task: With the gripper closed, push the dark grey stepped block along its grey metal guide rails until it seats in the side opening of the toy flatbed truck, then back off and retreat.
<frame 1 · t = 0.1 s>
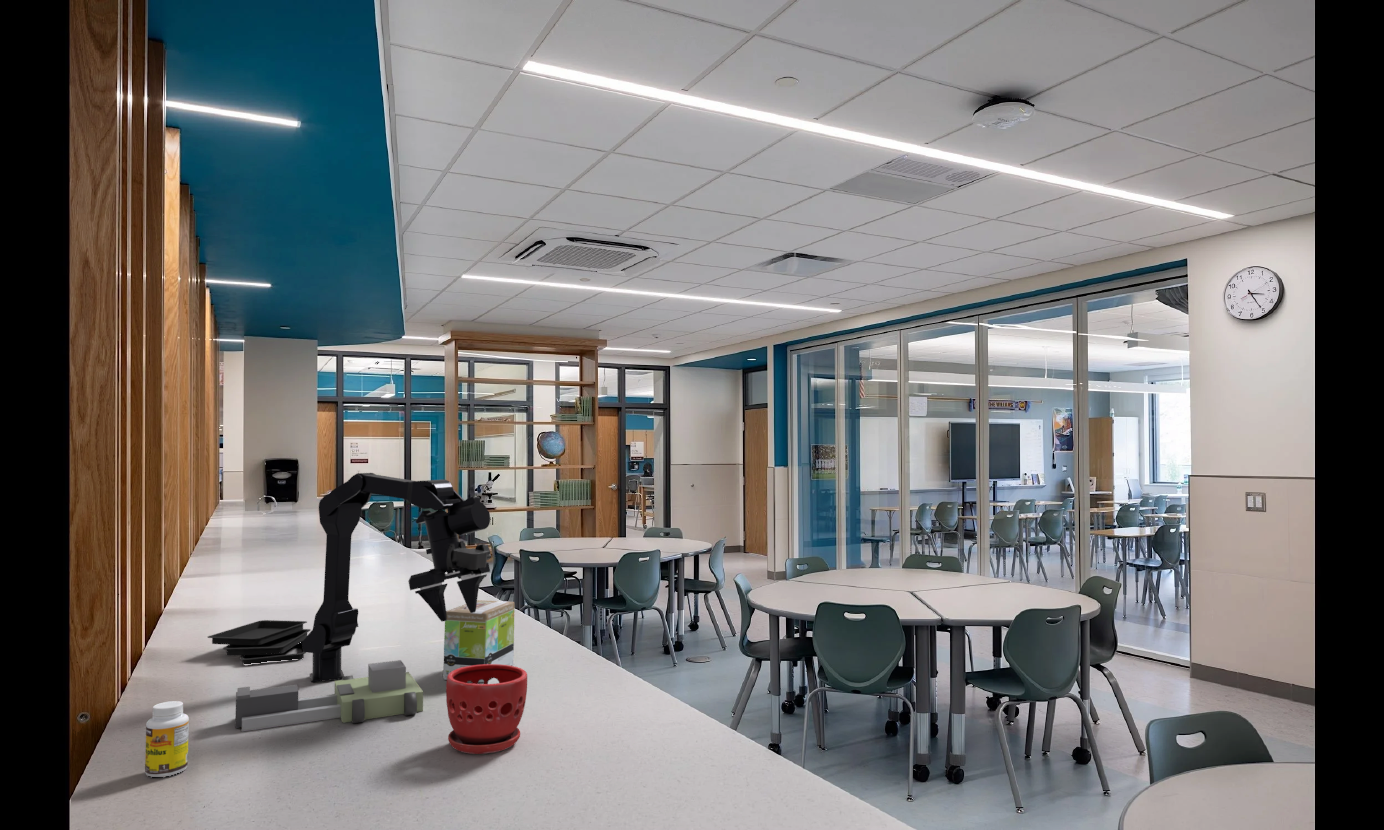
hand: (459, 616, 168), 15 cm above the countertop, tool pointing down, fingers open, 9 cm apart
tea box: (479, 673, 184), on the countertop
supplement bottle: (166, 773, 128), on the countertop
tray: (262, 653, 204), on the countertop
plant pot: (487, 746, 139), on the countertop
dark grey stepped block: (267, 703, 152), point 3 cm above the countertop, slide at 7.0 cm
toy flatbed truck: (377, 704, 161), on the countertop
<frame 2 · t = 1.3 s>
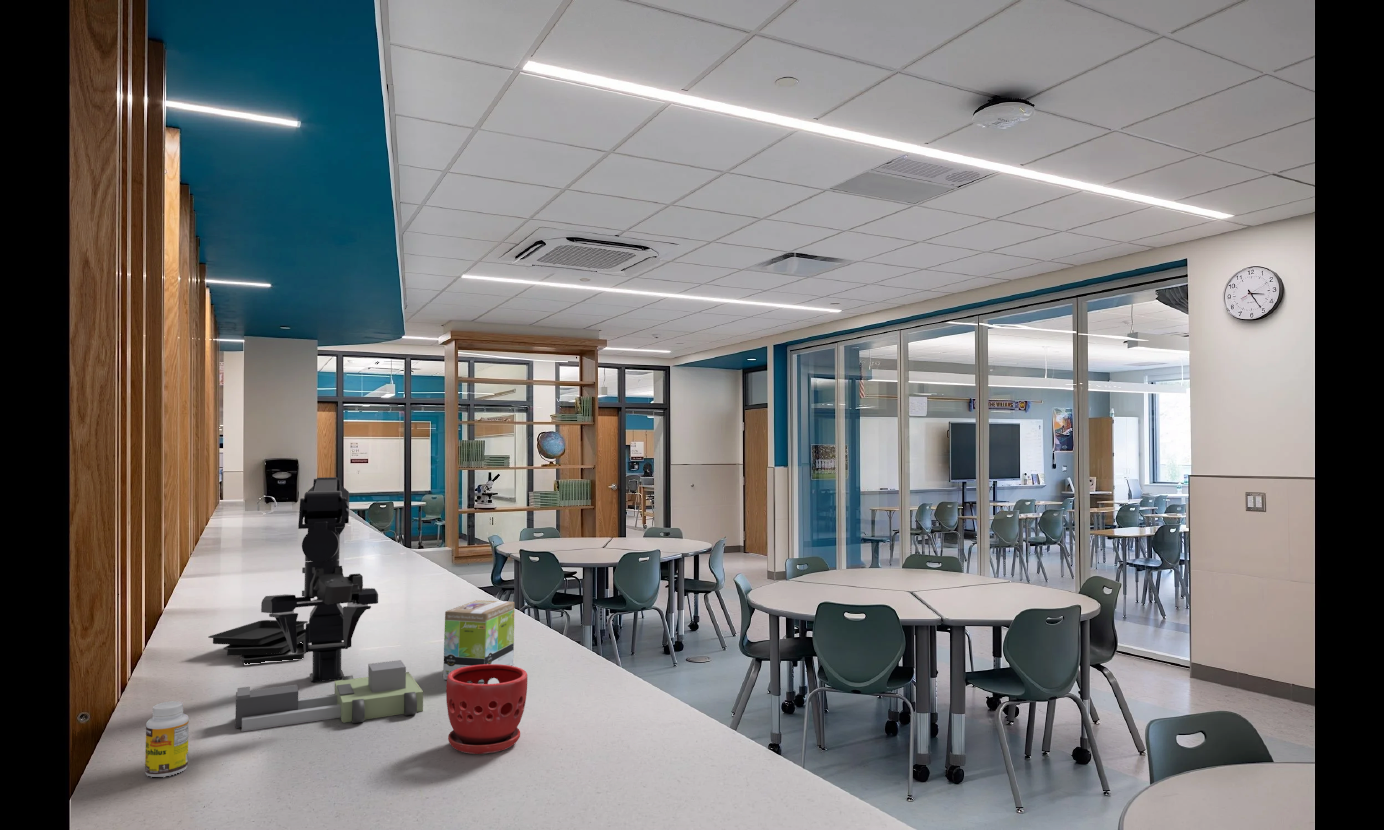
hand: (320, 649, 150), 13 cm above the countertop, tool pointing down, fingers open, 9 cm apart
nothing on the countertop moved.
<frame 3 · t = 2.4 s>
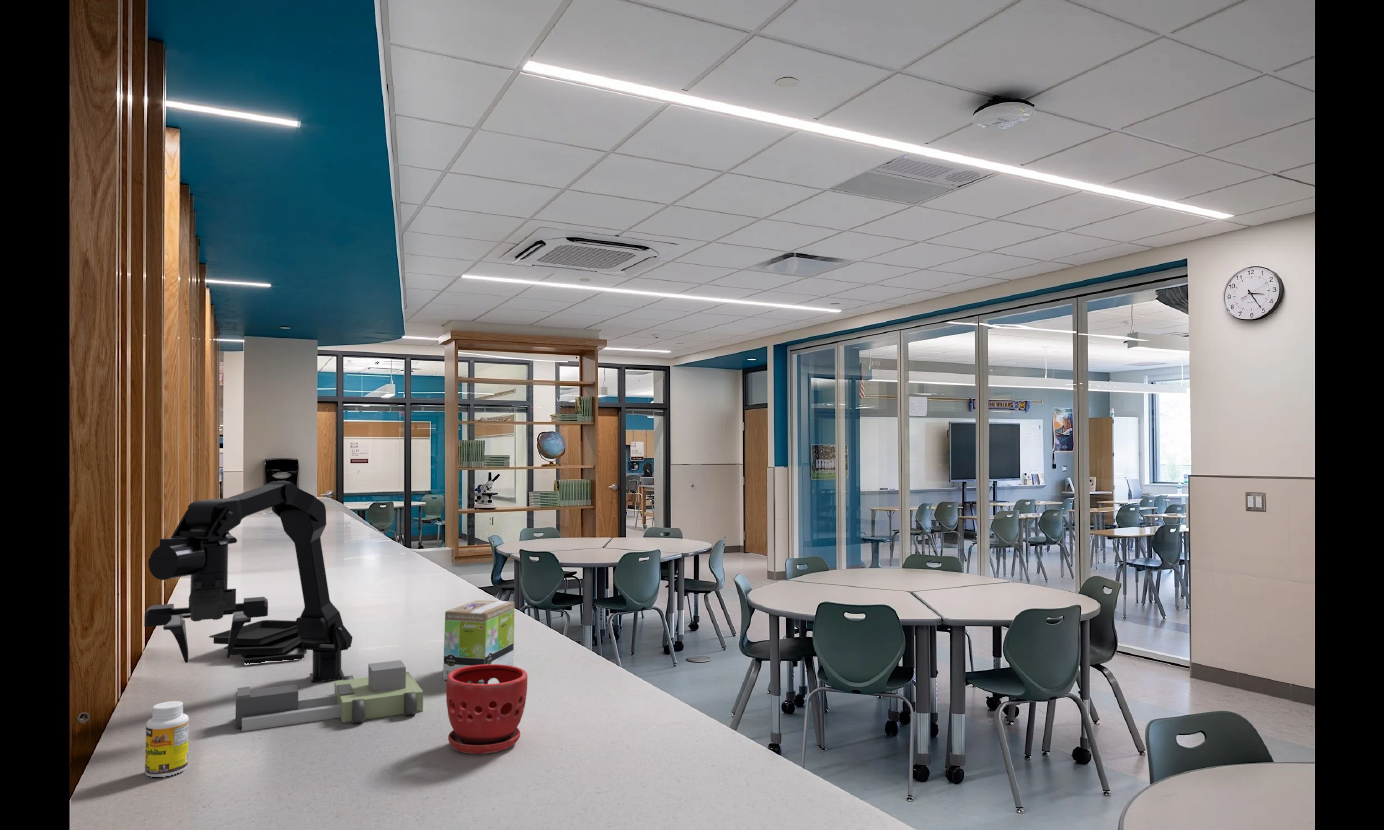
hand: (207, 660, 148), 12 cm above the countertop, tool pointing down, fingers open, 6 cm apart
nothing on the countertop moved.
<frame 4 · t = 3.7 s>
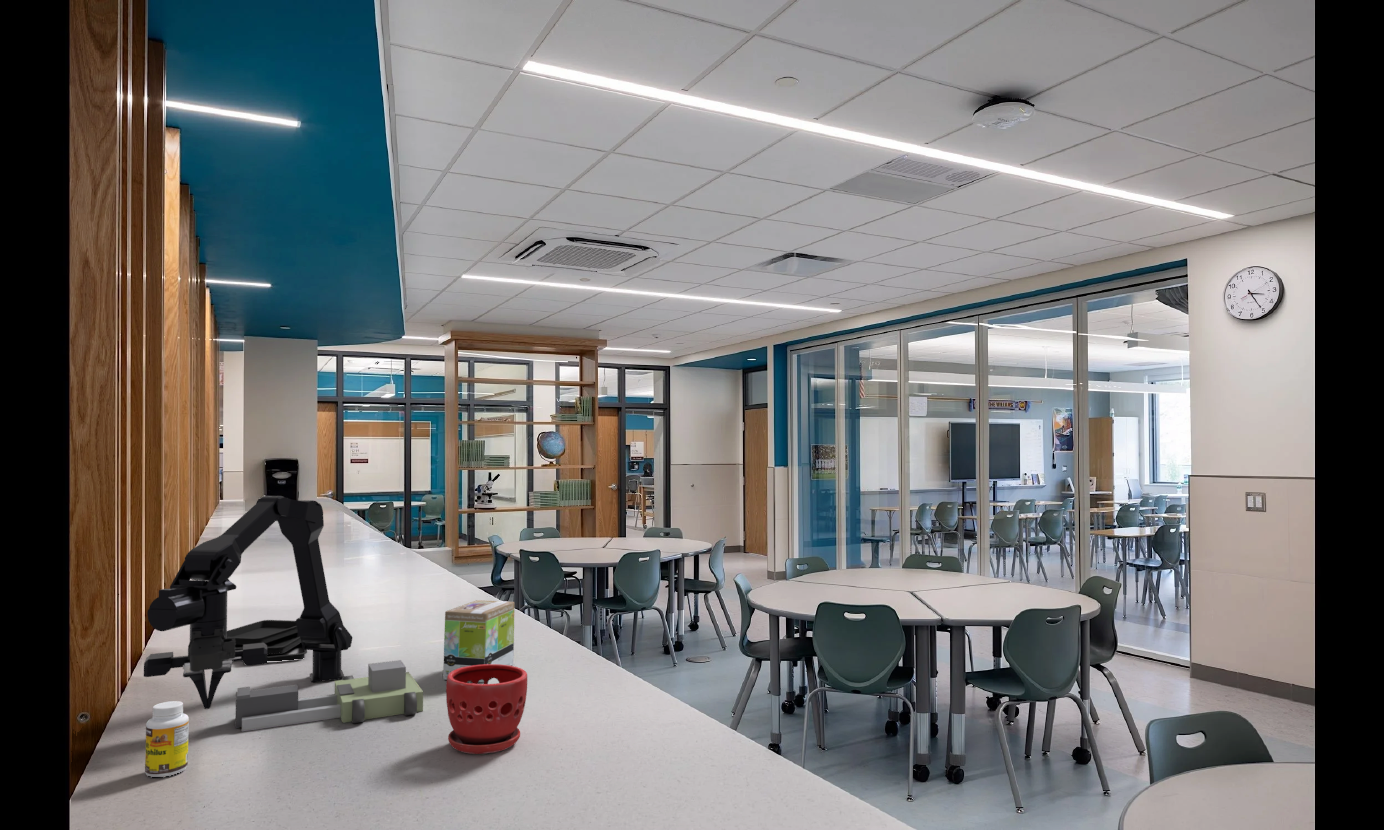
hand: (207, 708, 148), 4 cm above the countertop, tool pointing down, fingers closed
nothing on the countertop moved.
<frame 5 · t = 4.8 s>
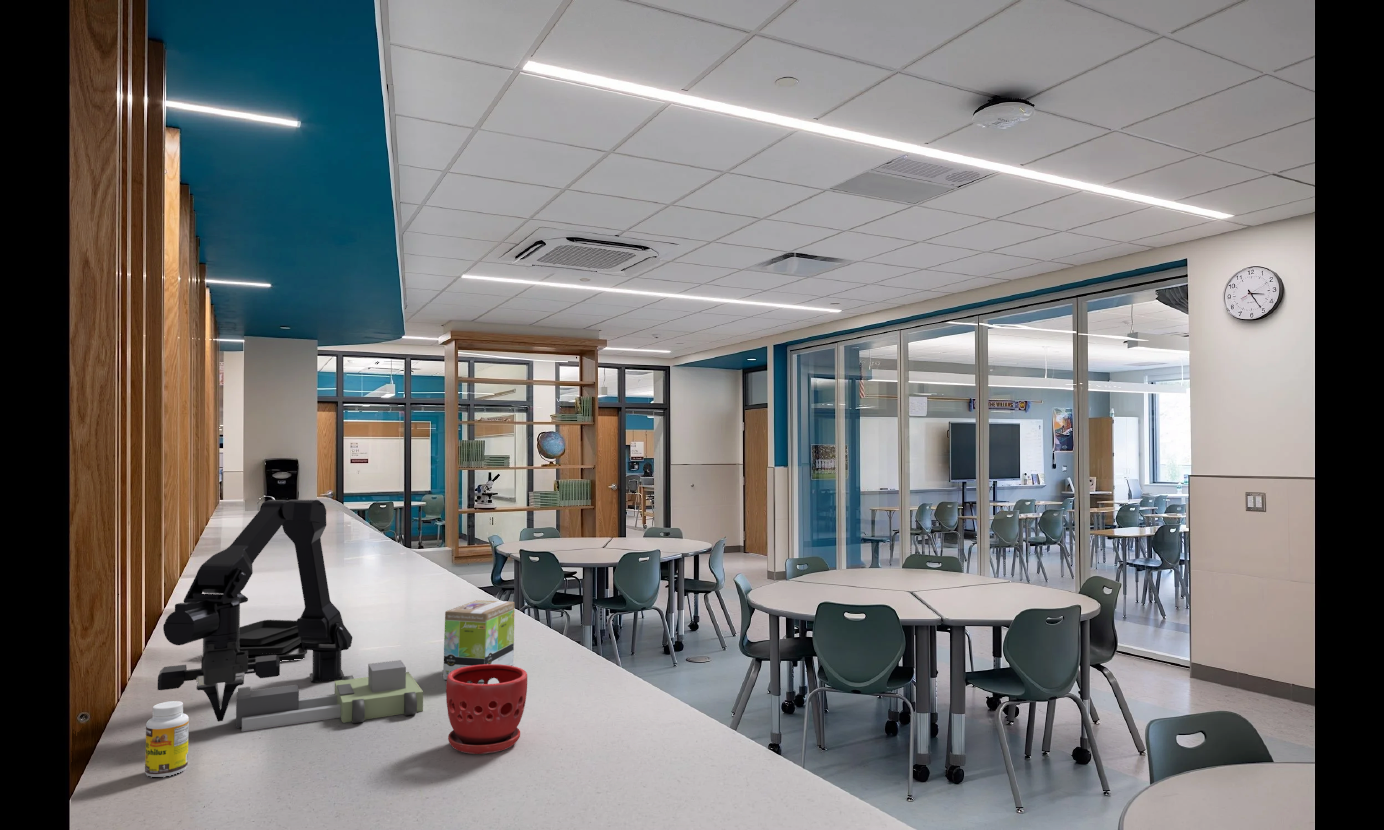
hand: (220, 720, 149), 1 cm above the countertop, tool pointing down, fingers closed
dark grey stepped block: (267, 703, 152), point 3 cm above the countertop, slide at 6.9 cm, touching gripper
everything else where it was.
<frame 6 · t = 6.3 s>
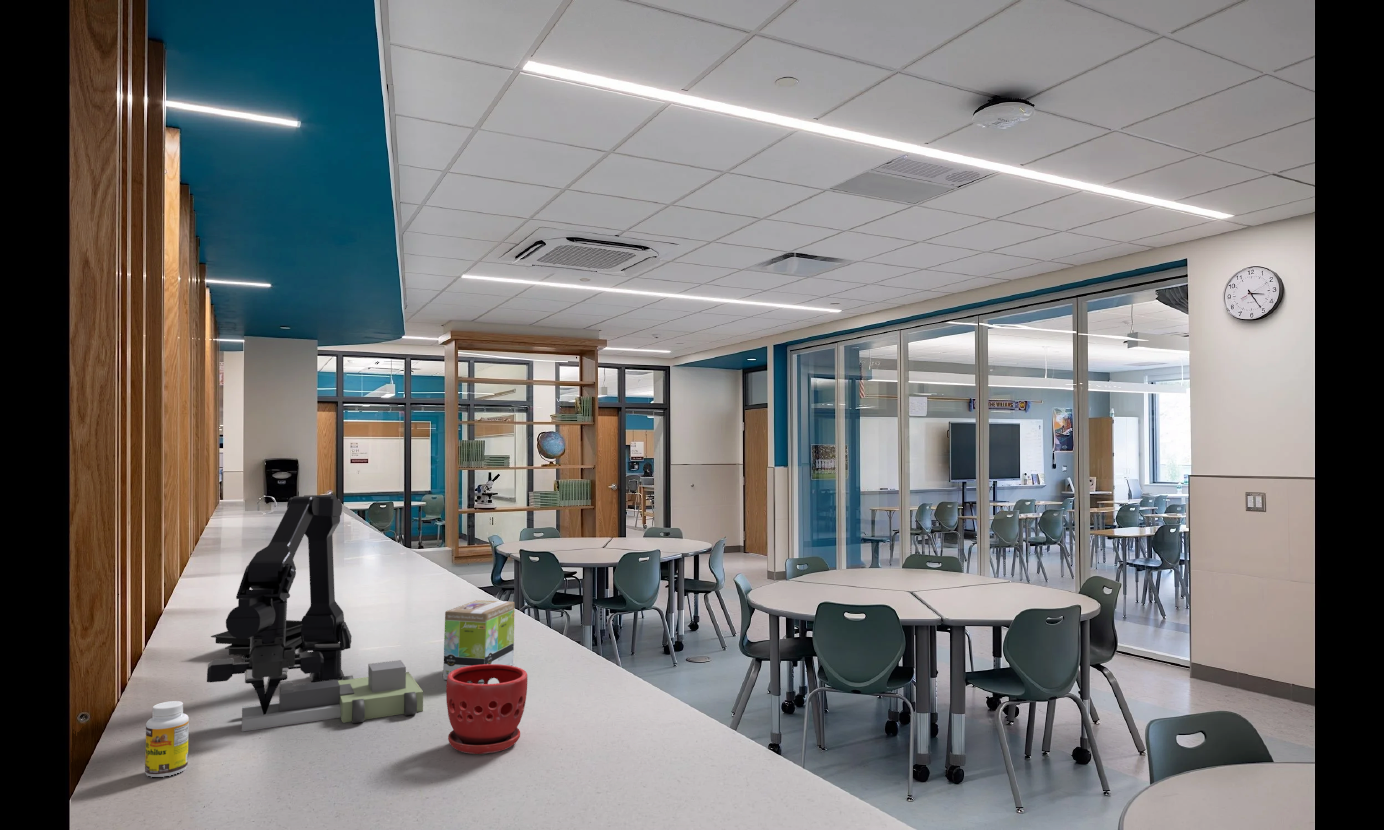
hand: (264, 714, 152), 1 cm above the countertop, tool pointing down, fingers closed
dark grey stepped block: (309, 698, 156), point 3 cm above the countertop, slide at 0.0 cm, touching gripper, toy flatbed truck
everything else where it was.
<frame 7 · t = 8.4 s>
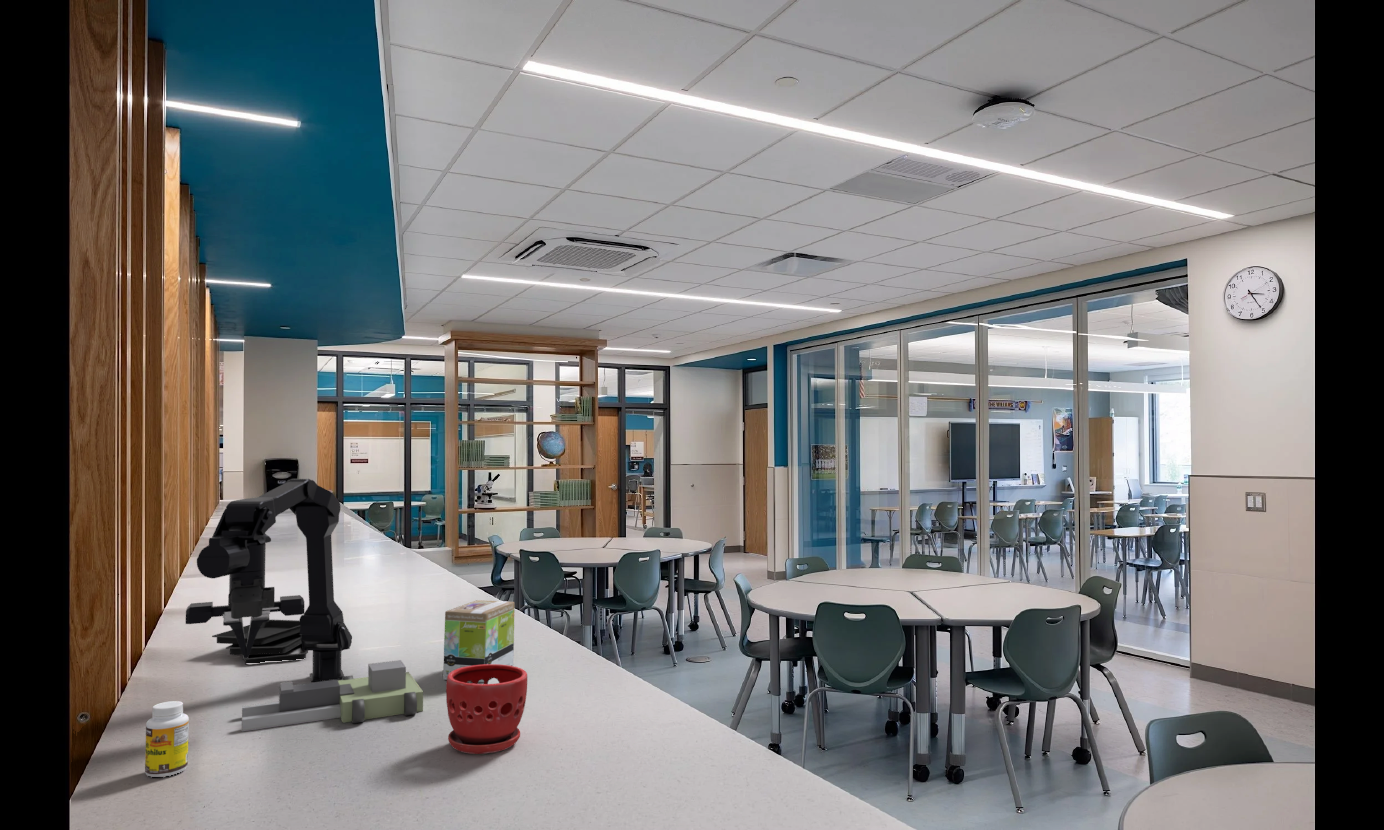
hand: (245, 657, 151), 12 cm above the countertop, tool pointing down, fingers closed
dark grey stepped block: (309, 698, 156), point 3 cm above the countertop, slide at 0.0 cm, touching toy flatbed truck
everything else where it was.
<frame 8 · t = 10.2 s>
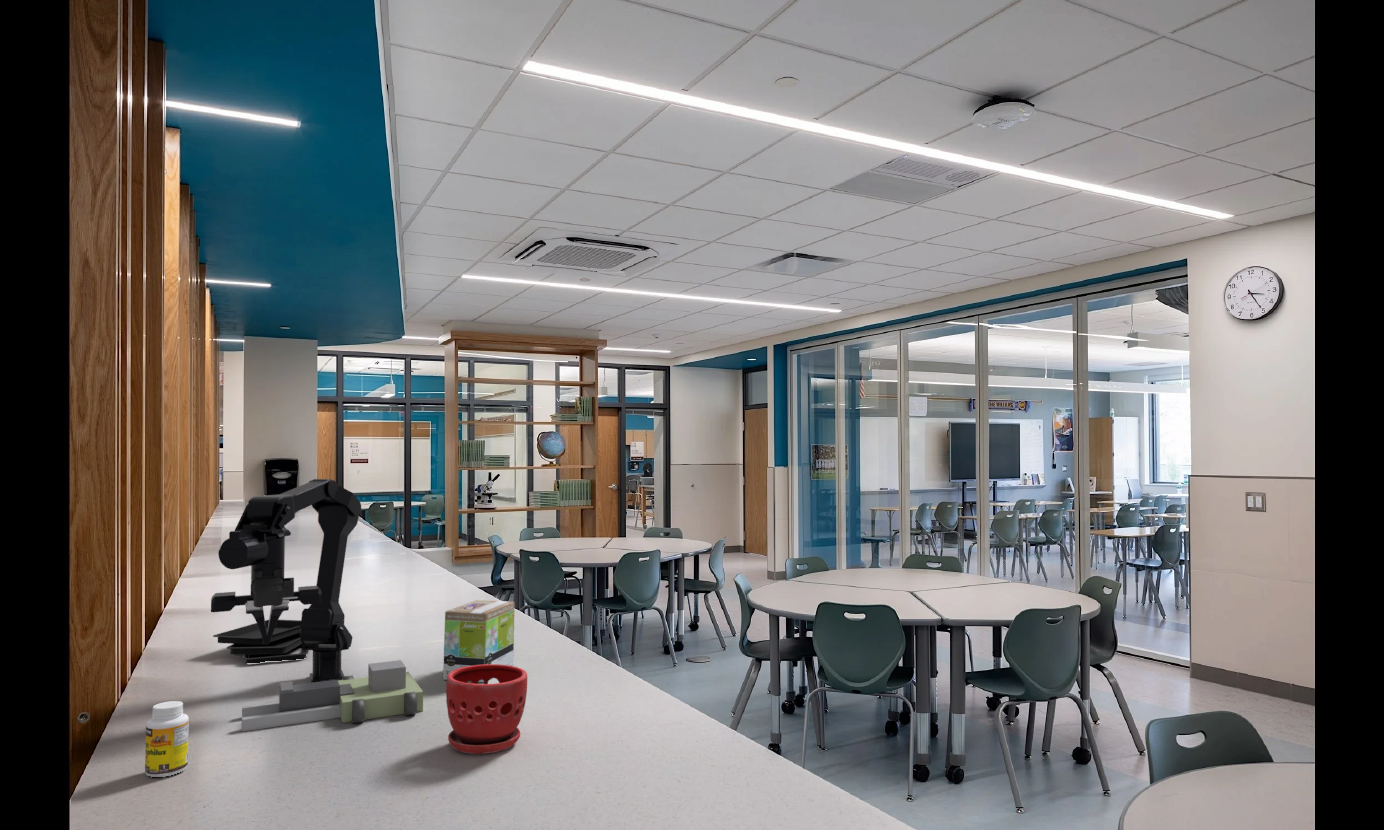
hand: (266, 643, 161), 12 cm above the countertop, tool pointing down, fingers closed
at the end: dark grey stepped block slide at 0.0 cm; the gripper is holding nothing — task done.
